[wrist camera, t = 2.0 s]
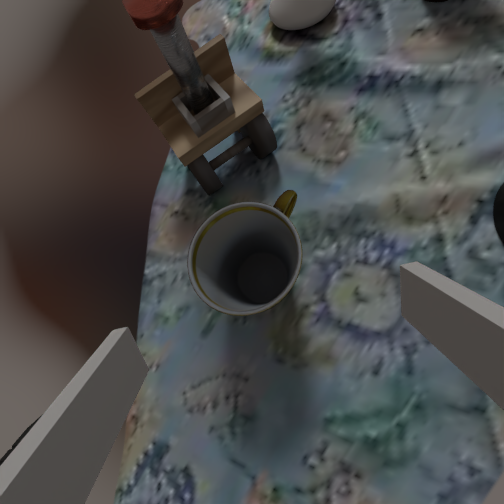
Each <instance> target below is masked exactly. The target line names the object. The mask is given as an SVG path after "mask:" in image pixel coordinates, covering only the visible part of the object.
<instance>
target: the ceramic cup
mask: <svg viewBox="0 0 504 504" xmlns="http://www.w3.org/2000/svg"><path fill="white" fill-rule="evenodd" d="M296 200H297V194H296V192H295V191H293V190H287V191H285V192H284V193H283V194H282V195H281V196H280V197H279V198H278V199H277V201H276V203H275V204H274V206H273V207H272V206H270V205H267V204H264V203H259V202H239V203H235V204H231V205H228V206H226V207H224V208H222V209H220V210H218V211H216V212H215V213H213V214H212V215H211V216H210V217H208V218H207V219H206V220H205V221H204V222H203V224H202V225H201V226H200V227H199V229H198V230H197V232H196V233H195V235H194V237H193V239H192V242H191V244H190V247H189V252H188V261H187V267H188V274H189V278H190V281H191V284H192V286H193V288H194V290H195V292H196V293H197V295H198V296H199V297H200V298H201V299H202V300H203V301H204V302H205V303H206V304H207V305H209V306H210V307H212V308H213V309H215V310H217V311H219V312H222V313H225V314H229V315H236V316H244V315H252V314H256V313H259V312H262V311H265V310H268V309H270V308H272V307H274V306H275V305H277V304H278V303H279V302H281V301H282V300H283V299H284V298H285V296H286V295H287V294H288V293H289V291H290V290H291V288H292V287H293V285H294V283H295V282H296V280H297V278H298V275H299V272H300V268H301V264H302V245H301V241H300V237H299V234H298V232H297V230H296V228H295V226H294V225H293V223H292V222H291V221H290V220H289V217H290V215H291V213H292V211H293V208H294V206H295V203H296Z"/></svg>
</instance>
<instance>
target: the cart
mask: <svg viewBox="0 0 504 504" xmlns="http://www.w3.org/2000/svg"><path fill="white" fill-rule="evenodd" d="M194 54H195V56H196V59H197V61H198V63H199V66H200V68H201V71H202V73H203V75H204V78H205V80H206V83H207V85H208V87H209V90H210V92H211V94H212V97H213V99H214V103H212V104H211V105H209V106H208V107H206V108H205V109H204V110H202V111H201V112H199V113H198V114H196V115H195V114H194V112H193V110H192V108H191V106H190V104H189V102H188V101H187V99H186V97H185V95H184V93H183V91H182V89H181V87H180V86H179V84H178V82H177V80H176V78H175V76H174V74H173V72H172V71H171V69H170V70H168V71H167V72H165V73H164V74H163V75H161V76H160V77H158V78H157V79H156V80H154V81H153V82H151V83H150V84H149V85H147V86H146V87H144V88H143V89H142V90H140V91H139V92H137V93H136V94H135V97H136V98H137V100H138V101H139V102H140V104H141V105H142V106H143V107H144V109H145V110H146V112H147V113H148V114H149V116H150V117H151V118H152V120H153V121H154V122H155V124H156V125H157V126H158V128H159V129H160V131H161V132H162V134H163V135H164V137H165V138H166V140H167V141H168V143H169V144H170V146H171V148H172V149H173V151H174V152H175V154H176V155H177V157H178V158H179V159H180V161H181V162H182V163H183V165H184V166H188V167H189V169H190V170H191V172H192V173H193V175H194V176H195V178H196V179H197V180H198V182H199V183H200V185H201V186H202V187H203V189H204V190H205V191H206V193H207V194H208V195H211V194H212V193H214V192H215V191H217V190H218V189H220V188H221V187H222V186H223V185H222V183H221V181H220V180H219V178H218V176H217V175H216V173H215V172H214V170H215V169H216V168H218V167H219V166H221V165H222V164H224V163H225V162H227V161H228V160H229V159H231V158H232V157H234V156H235V155H237V154H238V153H239V152H241V151H242V150H244V149H245V148H247V147H248V146H249V148H250V149H251V150H252V152H253V153H254V154H255V155H256V156H257V157H258V158H259V159H263V158H264V157H265V156H267V155H268V154H270V153H271V152H273V151H274V150H276V148H277V142H276V138H275V135H274V132H273V130H272V128H271V126H270V124H269V122H268V120H267V119H266V117H265V116H264V114H263V112H264V108H263V103H262V99H261V98H260V97H259V96H258V95H256V94H255V93H254V92H253V91H252V90H251V89H250V88H249V87H248V86H247V85H246V84H245V83H244V82H243V81H242V80H241V79H240V78H239V77H238V76H237V75H236V74H235V73H234V69H233V66H232V63H231V59H230V56H229V52H228V49H227V46H226V42H225V39H224V37H223V36H222V35H221V34H219V35H218V36H216V37H215V38H213V39H212V40H211V41H209V42H208V43H206V44H205V45H204V46H202V47H201V48H199V49H198V50H196V51H195V52H194ZM235 131H238V132H239V133H240V132H241V133H242V135H243V137H244V138H243V139H242V140H240V141H239V142H237V143H236V144H234V145H233V146H232V147H230V148H229V149H227V150H226V151H224V152H223V153H222V154H220V155H219V156H217V157H216V158H214V159H213V160H212V161H210V162H209V163H208V161H207V160H206V158H205V157H204V155H203V154H204V153H205V152H207V151H208V150H210V149H211V148H213V147H214V146H215V145H217V144H218V143H220V142H221V141H223V140H224V139H225V138H227V137H228V136H230V135H231V134H233V133H234V132H235Z"/></svg>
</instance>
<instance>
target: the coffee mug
mask: <svg viewBox="0 0 504 504" xmlns="http://www.w3.org/2000/svg"><path fill="white" fill-rule="evenodd" d="M426 1H429V2H443V1H447V0H426Z"/></svg>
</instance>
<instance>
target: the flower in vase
mask: <svg viewBox="0 0 504 504" xmlns="http://www.w3.org/2000/svg"><path fill="white" fill-rule="evenodd" d="M335 2H336V0H271V3H270V8H269V17H270V19H271V21H272V22H273V23H274V24H275V25H276V26H277V27H279V28H281V29H285V30H299V29H303V28H307V27H310V26H312V25H314V24H316V23H318V22H319V21H321V20H322V19H324V18H325V17H326V16H327V15H328V14H329V13H330V11H331V10H332V8H333V6H334V4H335Z"/></svg>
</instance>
